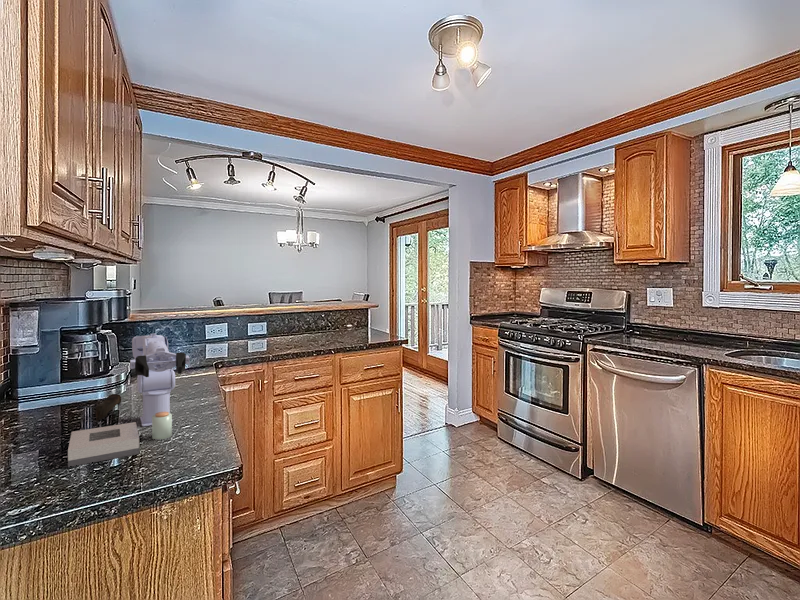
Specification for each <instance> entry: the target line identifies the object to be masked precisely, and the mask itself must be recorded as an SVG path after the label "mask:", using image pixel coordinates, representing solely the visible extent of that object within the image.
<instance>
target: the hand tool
mask: <svg viewBox="0 0 800 600" xmlns="http://www.w3.org/2000/svg"><path fill="white" fill-rule="evenodd" d="M121 403H122V396H121V395H120V394H117V393H112V394H109V395H108V396H107V398H106V399H104V400H103V401H102V402H99V403H98V404H96V406H95V418H96V419H95V421H96V422H97V421H98V422H99V421H101V420H103V419H104V418H106V417H108V414H109V412H111V411H112V410H113V409H114V408H115V407H116V406H117V405H120V404H121Z"/></svg>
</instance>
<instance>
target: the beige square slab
mask: <svg viewBox="0 0 800 600" xmlns="http://www.w3.org/2000/svg"><path fill="white" fill-rule="evenodd" d="M138 430H139V429H138V426H137V422H136V421H134V422H127V423H122V424H121V423H120V424H114V425H108V426H102V427H101V426H99V427H93V428H87V429H80V430H75V431H71V433H70V438H69V442H68V443H69V444H68V449H67V468H71V467H70V466H72V467H76V465H77V466H82V465H86V464H87V463H88V464H92V462H93V463H97V462H104V461H109V460H114V459H118V458H124V457H131V456H134V455H139V454H140V436H139V431H138ZM81 464H82V465H81ZM88 464H87V465H88Z"/></svg>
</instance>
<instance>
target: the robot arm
mask: <svg viewBox="0 0 800 600" xmlns="http://www.w3.org/2000/svg"><path fill="white" fill-rule="evenodd" d="M131 347H132V349H131V351H132V357H133V358H134V359H130V360H129V368H130V370H134V369H135V370H134V371H135V375H136V376H137V379H136V381H137V382H136V383H137V388H136V389H137V392H138V393H139V394H142V416H140V417H139V419H140V423H141V426H142V427H148V426H149V427H150V426H152V416H153V415H155V414H156V413H158V412H169V413H171V408H170V407H171V403H170V402H171V401H170V400H171V398H170V397H171V392H172V391H173V390H174V389H175V388H176V373H177V375H181V374H183V373H182V372H185V370H186V365H190V360H191V359H190V355H186V353H185V352H176V353H174V352H170V351H169V341H168V337H167V336H165V337H164V335H161V334H160V335H159V334H158V335H157V333H150V334H149V335H137V336H133V337H132V340H131ZM173 368H175V371H174V369H173ZM173 421H174V420H173V419H172V423H173Z"/></svg>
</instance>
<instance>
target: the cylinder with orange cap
mask: <svg viewBox="0 0 800 600" xmlns="http://www.w3.org/2000/svg"><path fill="white" fill-rule="evenodd" d="M172 420H173V414H172V413H171V412H170V413H169V412H158V413H156V414H155V415H153V416H152V425H151V439H153V440H154V439H155V440H156V441H158V440H159V439H162V440H166V439H165V438H167V439H169V438H171V437H172V435H173V422H172ZM159 441H160V440H159Z"/></svg>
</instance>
